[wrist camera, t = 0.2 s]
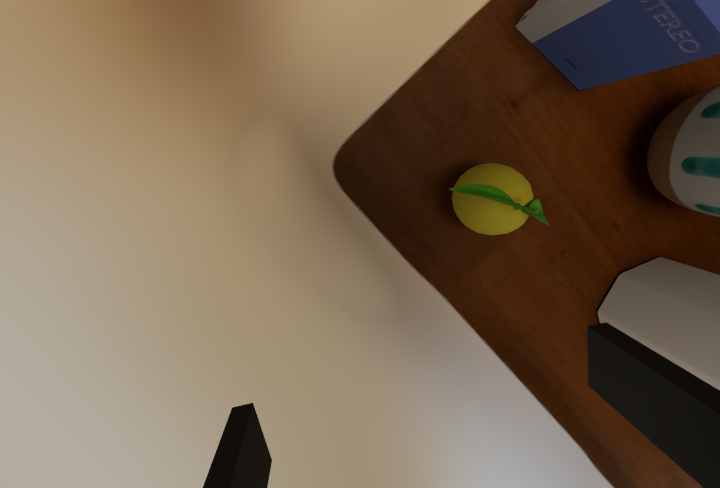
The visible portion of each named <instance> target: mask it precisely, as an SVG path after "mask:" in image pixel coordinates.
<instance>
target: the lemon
mask: <svg viewBox="0 0 720 488" xmlns="http://www.w3.org/2000/svg"><path fill="white" fill-rule="evenodd" d="M449 190H451V191H453V193H452V203H453V208H454V210H455V212H456V215H457V217H458V218H459V219H460V220H461V221H462V223H463V224H464V225H465V226H467V227H468V228H470V229H471V230H473V231H475V232H477V233H482V234H487V235H498V234H506V233H509V232H511V231H513V230H516V229H518V228H519V227H520V226H521V225H522V224H523V223H525V221H526V220H527V218H528V217H529V215H532V216H533V217H535V218H536V219H538V220H540V221H541V222H543V223H545V224H547V225H549V224H548V223H547V222H546V219H545V217H544V214H543V211H542V207H541V203H540V200H539V199H536V200H534V201H533V193H532V189H531V186H530V184H529V182H528V181H527V180H526V179H525V178H524V176H523V175H522V174H520V173H519V172H517V171H516V170H514V169H513V168H511V167H509V166H505V165H501V164H496V163H488V164H479V165H477V166H475V167H473V168H471V169H468V170H467V171H466V172H465V173H464V174H462V175H461V176H460V177H459V179H458V181H457V182H456V184H455V186H454V188H450V189H449ZM549 226H550V225H549Z"/></svg>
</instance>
